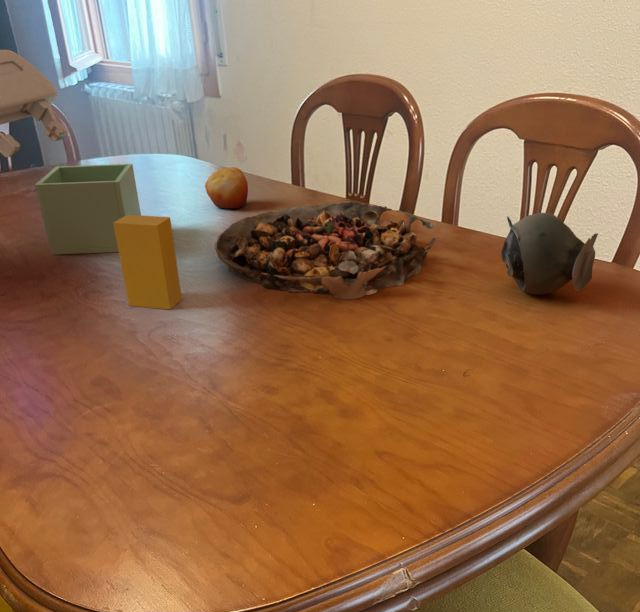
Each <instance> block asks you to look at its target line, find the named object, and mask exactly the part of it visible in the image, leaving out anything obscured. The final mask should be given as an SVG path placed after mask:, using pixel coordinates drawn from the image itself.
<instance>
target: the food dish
mask: <svg viewBox="0 0 640 612" xmlns="http://www.w3.org/2000/svg"><path fill="white" fill-rule="evenodd" d="M388 211H392V208H390V207H387V206H386V205H385V206H382V205H377V204H372V203H371V204H368V203H365V204H361V203H360V202H357V201H354V200H351V201H340V202H332V203H324V204H323V203H322V204H310V205H304V206H303V205H300V206H295V207H286V208H281V209H278V210H274V211H267V212H261V213H259V214H256V215H253V216H247V217H244V218H242V219H240V220H237V221H235V222H233V223H232V224H231V225H229V227H227V228H226V229H224V230H223V231H222V232H220V234H219V235H218V236H217V238H216V242H215V243H214V249H215V252H216V254H217V257H218V258H219V260H220V261H222V263H224V264H225V265H227V268H228V271H229V272H231V273H232V274H234V275H236V276H238V277H240V278H244V279H246V280H247V281H248V282H251V283H257V284H260V285H262V286H263V287H264V288H266V289H269V290H277V291H282V292H283V291H285V292H288V293H292V294H293V293H294V294H299V293H311V294H315V295H316V294H317V295H332V296H333V298H334V299H335V298H336V299H340V300H357V299H360V298H362V297H364V296H370V295H374V294H376V293H377V292H378V291H380V290H382V289H386V288H390V287H394V286H399V287H400V286H403V285H405V280H407V279H409V278H410V277H411V276H416V275H418V274H420V273H421V272H423V271H422V268H423V266H424V265H426V257H427V255H428V253H429V250H430V249H431V247H432V246H433V245H434V243H436V239H437V237H432V238H431V241H430V242H429V243H427V244H426V246H425V247H424V246H418V244H417V245H416V242H417V239H418V237H417V234H416V233H415V232H413V231H412V230H411V227H412V224H413V223H415V222H416V221H420V222H421V225H422V226H424V227H425V228H426V229H430V230H431V229H434V227H435V226H434V224H433V223H431V222H430V221H428V220H426V219H423V218H421V219H420V218H418V217H417V215H415V214H413V213H410V212H407V211H403V210H395V212H397V213H401V214H403V215H406V216H407V217H408V224H407V225H408V226H407V227H406V223H405V222H406V221H405V220H404V219H399V221H398V222H393V220H388V219H385V220H382V221H380V219H381V216H382V215H383V213H384V212H388Z"/></svg>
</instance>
